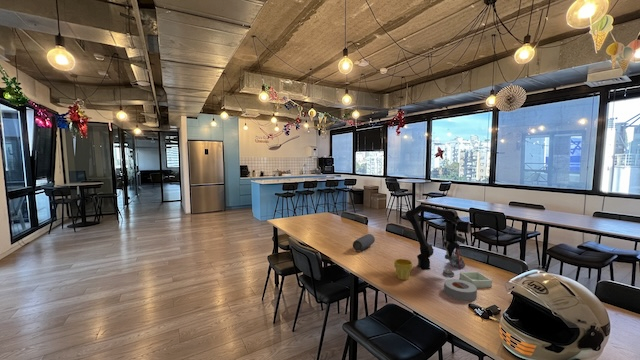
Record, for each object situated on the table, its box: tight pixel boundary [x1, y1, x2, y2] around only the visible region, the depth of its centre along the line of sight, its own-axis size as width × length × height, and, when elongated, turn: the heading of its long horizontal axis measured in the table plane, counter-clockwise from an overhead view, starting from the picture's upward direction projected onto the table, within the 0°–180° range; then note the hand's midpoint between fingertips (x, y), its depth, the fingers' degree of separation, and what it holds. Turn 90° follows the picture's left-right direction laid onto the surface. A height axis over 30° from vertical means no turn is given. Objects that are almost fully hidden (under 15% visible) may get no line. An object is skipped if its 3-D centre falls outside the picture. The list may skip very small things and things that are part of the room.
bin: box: [459, 271, 493, 289], centre depth 155 cm, size 12×12×4 cm
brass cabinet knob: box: [444, 249, 454, 261], centre depth 165 cm, size 5×5×7 cm
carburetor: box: [447, 249, 466, 269], centre depth 180 cm, size 11×11×12 cm
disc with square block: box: [442, 269, 455, 278], centre depth 166 cm, size 6×6×2 cm
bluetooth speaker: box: [352, 233, 376, 252], centre depth 212 cm, size 23×9×10 cm, turn 144°
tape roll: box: [443, 278, 478, 303], centre depth 142 cm, size 15×15×5 cm
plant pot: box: [393, 258, 413, 281], centre depth 161 cm, size 10×10×10 cm
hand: (449, 255), depth 165 cm, fingers closed on brass cabinet knob, 4 cm apart
